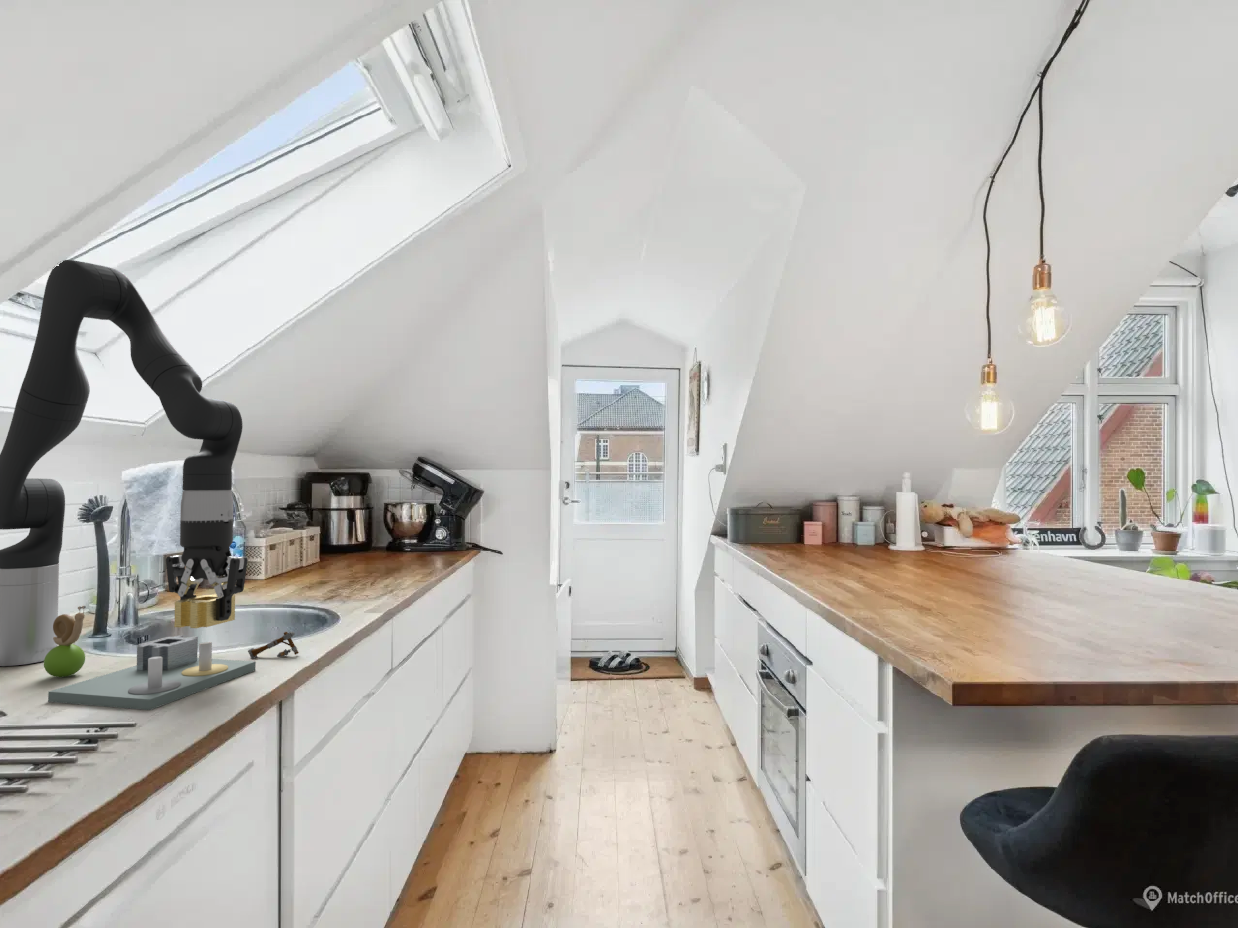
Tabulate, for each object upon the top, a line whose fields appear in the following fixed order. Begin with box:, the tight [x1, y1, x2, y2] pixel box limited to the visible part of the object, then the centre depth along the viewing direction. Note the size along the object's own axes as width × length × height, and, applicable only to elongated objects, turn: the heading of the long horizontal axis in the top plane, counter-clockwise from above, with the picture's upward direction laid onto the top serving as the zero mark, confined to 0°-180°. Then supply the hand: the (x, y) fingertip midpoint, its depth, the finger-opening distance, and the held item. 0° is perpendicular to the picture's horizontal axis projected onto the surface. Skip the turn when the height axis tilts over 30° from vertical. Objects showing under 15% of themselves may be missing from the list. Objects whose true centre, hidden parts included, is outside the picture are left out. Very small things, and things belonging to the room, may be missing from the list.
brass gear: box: [173, 593, 236, 629], centre depth 113 cm, size 6×8×4 cm
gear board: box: [47, 641, 256, 711], centre depth 110 cm, size 18×21×6 cm
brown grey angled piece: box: [247, 631, 300, 660], centre depth 128 cm, size 2×8×5 cm, turn 100°
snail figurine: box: [43, 605, 87, 678], centre depth 114 cm, size 5×6×12 cm
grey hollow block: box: [136, 635, 199, 671], centre depth 116 cm, size 6×8×4 cm
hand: (205, 618), depth 113 cm, fingers closed on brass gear, 6 cm apart
